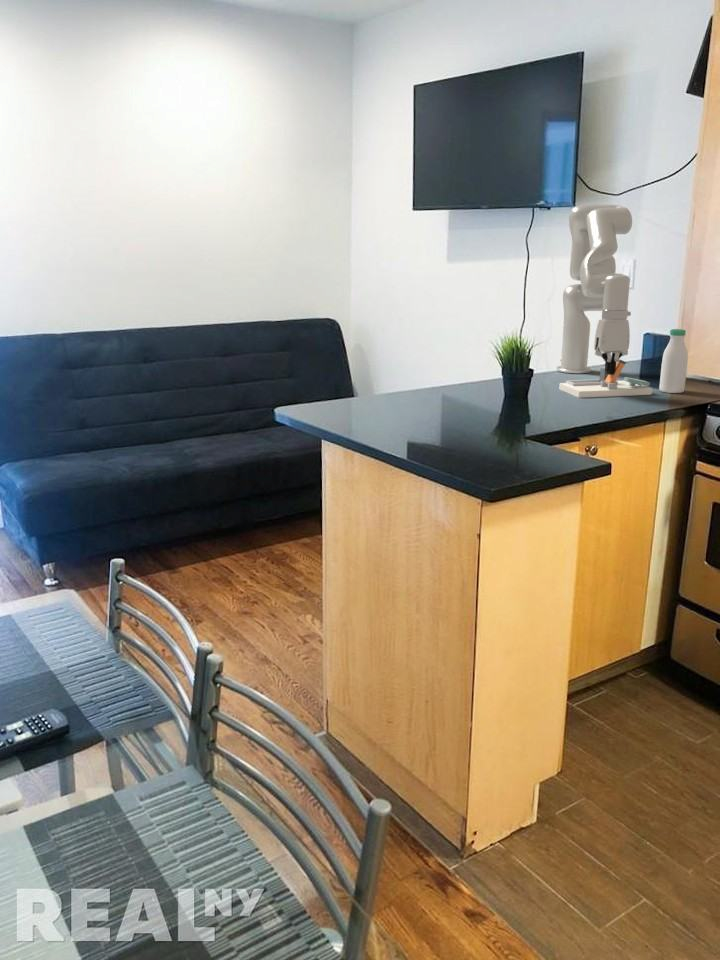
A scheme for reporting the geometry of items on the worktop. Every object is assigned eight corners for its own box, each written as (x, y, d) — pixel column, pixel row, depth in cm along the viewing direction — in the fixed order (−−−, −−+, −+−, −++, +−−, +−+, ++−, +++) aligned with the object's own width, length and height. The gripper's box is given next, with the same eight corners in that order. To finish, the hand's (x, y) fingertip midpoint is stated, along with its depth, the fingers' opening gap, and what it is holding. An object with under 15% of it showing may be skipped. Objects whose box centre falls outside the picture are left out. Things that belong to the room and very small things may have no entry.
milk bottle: (687, 393, 262) (694, 330, 256) (663, 393, 262) (670, 331, 256) (679, 389, 269) (685, 328, 263) (655, 389, 269) (661, 328, 264)
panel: (559, 389, 271) (559, 377, 270) (628, 386, 275) (629, 374, 274) (578, 397, 257) (579, 385, 255) (651, 394, 261) (652, 382, 260)
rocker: (622, 380, 264) (623, 376, 264) (641, 384, 266) (642, 380, 265) (630, 383, 259) (632, 379, 258) (650, 387, 260) (651, 383, 260)
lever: (603, 382, 263) (616, 358, 261) (607, 384, 263) (620, 360, 262) (609, 384, 259) (622, 360, 258) (612, 386, 260) (626, 362, 258)
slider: (599, 381, 271) (600, 366, 270) (607, 381, 272) (609, 366, 270) (603, 383, 268) (605, 368, 267) (612, 383, 269) (613, 367, 267)
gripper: (630, 314, 260) (625, 371, 265) (586, 315, 257) (582, 373, 262) (642, 316, 252) (637, 375, 257) (597, 317, 250) (593, 376, 255)
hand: (609, 373), depth 260 cm, fingers closed
